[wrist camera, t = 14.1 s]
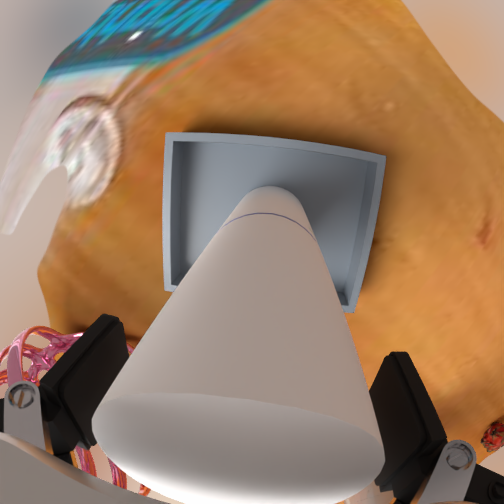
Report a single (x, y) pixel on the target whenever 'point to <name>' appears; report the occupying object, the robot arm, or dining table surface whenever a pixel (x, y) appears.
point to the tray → (270, 174)
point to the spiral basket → (45, 361)
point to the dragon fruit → (494, 437)
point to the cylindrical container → (247, 375)
